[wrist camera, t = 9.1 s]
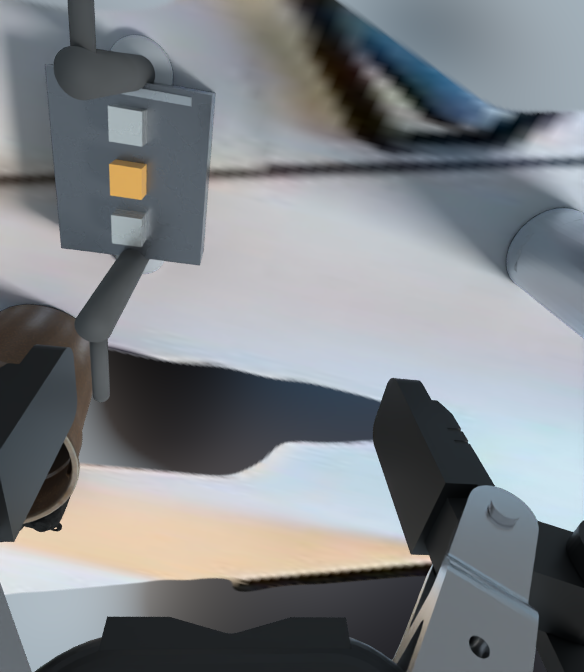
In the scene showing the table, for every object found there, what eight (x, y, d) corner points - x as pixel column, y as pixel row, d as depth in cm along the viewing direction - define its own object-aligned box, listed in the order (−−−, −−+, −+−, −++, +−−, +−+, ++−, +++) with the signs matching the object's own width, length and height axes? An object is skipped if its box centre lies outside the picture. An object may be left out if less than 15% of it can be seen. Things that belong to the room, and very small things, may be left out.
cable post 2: (168, 225, 43) (131, 298, 29) (165, 313, 48) (132, 411, 34) (113, 218, 42) (50, 289, 29) (116, 308, 47) (62, 406, 33)
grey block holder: (215, 92, 38) (210, 96, 33) (203, 250, 45) (197, 273, 40) (64, 64, 36) (33, 64, 31) (76, 233, 43) (52, 256, 38)
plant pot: (119, 292, 46) (65, 386, 32) (126, 412, 54) (85, 530, 40) (-54, 276, 44) (-192, 372, 30) (-20, 405, 52) (-116, 527, 38)
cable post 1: (176, -30, 34) (127, -99, 20) (172, 111, 38) (129, 134, 25) (106, -46, 33) (5, -129, 19) (110, 100, 37) (31, 118, 24)
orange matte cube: (146, 164, 36) (141, 168, 35) (146, 194, 38) (141, 200, 36) (115, 159, 36) (109, 163, 34) (116, 189, 37) (110, 195, 36)
